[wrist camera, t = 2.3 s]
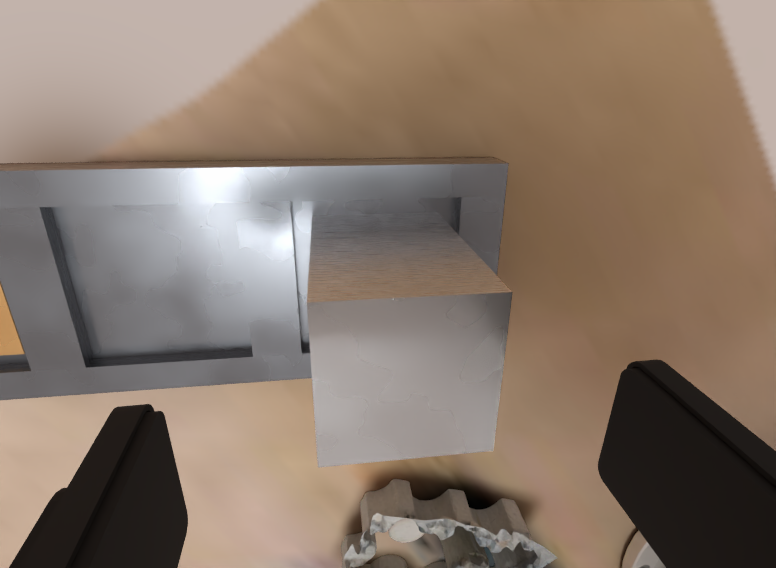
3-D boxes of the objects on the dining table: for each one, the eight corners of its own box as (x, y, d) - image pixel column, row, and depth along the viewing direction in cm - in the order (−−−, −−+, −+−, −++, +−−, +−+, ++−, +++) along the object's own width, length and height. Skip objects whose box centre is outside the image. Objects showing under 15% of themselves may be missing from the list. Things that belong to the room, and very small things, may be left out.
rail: (493, 157, 19) (508, 163, 18) (475, 346, 23) (487, 365, 21) (-271, 167, 16) (-335, 175, 14) (-153, 387, 19) (-194, 413, 18)
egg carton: (326, 554, 27) (326, 628, 24) (376, 459, 25) (385, 525, 21) (481, 583, 30) (503, 653, 26) (539, 500, 28) (572, 564, 24)
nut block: (437, 212, 19) (512, 292, 11) (431, 322, 21) (493, 450, 13) (312, 215, 18) (306, 302, 11) (318, 329, 20) (318, 467, 13)
